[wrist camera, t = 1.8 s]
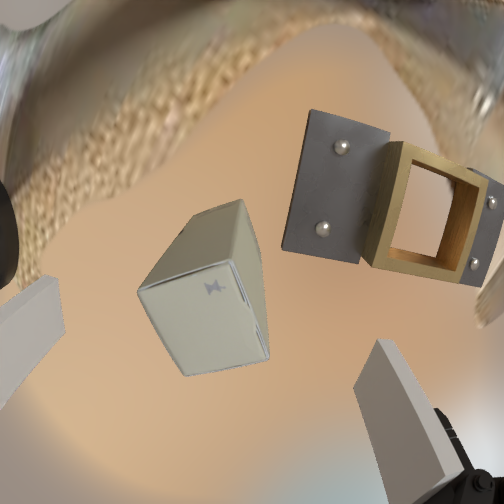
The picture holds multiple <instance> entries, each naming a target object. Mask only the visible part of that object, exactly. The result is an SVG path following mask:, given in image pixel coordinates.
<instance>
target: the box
mask: <svg viewBox="0 0 504 504" xmlns="http://www.w3.org/2000/svg"><path fill="white" fill-rule="evenodd" d="M137 294H138V297H139V299H140V301H141V303H142V305H143V307H144V309H145V312H146V314H147V316H148V317H149V319H150V321H151V323H152V325H153V327H154V329H155V330H156V332H157V334H158V336H159V338H160V339H161V341H162V343H163V345H164V346H165V348H166V350H167V351H168V353H169V355H170V356H171V358H172V359H173V361H174V362H175V364H176V365H177V367H178V368H179V370H180V371H181V373H182V374H183V375H184V376H186V377H187V376H188V377H189V376H194V375H199V374H205V373H211V372H217V371H222V370H228V369H233V368H237V367H242V366H246V365H251V364H256V363H260V362H264V361H267V360H269V357H270V352H269V336H268V325H267V314H266V303H265V292H264V282H263V271H262V260H261V252H260V248H259V245H258V242H257V238H256V235H255V232H254V229H253V226H252V223H251V220H250V217H249V214H248V212H247V209H246V206H245V204H244V201H243V199H239V200H236V201H232V202H229V203H226V204H223V205H220V206H217V207H214V208H212V209H209V210H206V211H203V212H201V213H199V214H196V215H194V216H193V217H192V218H191V219H190V220H189V222H188V223H187V224H186V226H185V227H184V228H183V230H182V231H181V232H180V233H179V235H178V236H177V237H176V238H175V240H174V241H173V242H172V244H171V245H170V246H169V248H168V249H167V250H166V252H165V253H164V254H163V256H162V257H161V258H160V259H159V261H158V262H157V263H156V265H155V266H154V268H153V269H152V270H151V272H150V273H149V274H148V276H147V277H146V279H145V280H144V282H143V283H142V284H141V286H140V287H139V288H138V290H137Z"/></svg>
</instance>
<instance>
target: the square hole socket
mask: <svg viewBox="0 0 504 504" xmlns="http://www.w3.org/2000/svg"><path fill="white" fill-rule="evenodd" d="M389 139H390V132H387V131H384V130H381V129H378V128H375V127H372V126H369V125H366V124H363V123H360V122H357V121H354V120H350V119H347V118H344V117H340V116H336V115H333V114H329V113H325V112H322V111H317V110H314V109H311V110H310V111H309V114H308V120H307V125H306V130H305V135H304V140H303V145H302V150H301V155H300V160H299V165H298V170H297V174H296V179H295V184H294V189H293V193H292V199H291V203H290V207H289V212H288V217H287V221H286V226H285V230H284V235H283V240H282V244H281V248H282V250H283V251H289V252H295V253H300V254H306V255H311V256H316V257H323V258H327V259H333V260H338V261H344V262H350V263H355V264H359V260H360V257H361V256H362V257H363V259H364V260H365V261H366V262H367V263H368V264H369V265H370V266H371V267H373V268H378V269H384V270H389V271H395V272H399V273H405V274H410V275H415V276H421V277H426V278H431V279H437V280H442V281H447V282H452V283H457V284H458V283H460V284H465V285H470V286H475V287H480V288H481V287H482V284H483V282H484V279H485V276H486V274H487V271H488V268H489V266H490V263H491V260H492V257H493V254H494V251H495V248H496V244H497V241H498V238H499V234H500V231H501V227H502V224H503V220H504V185H502V184H501V183H499V182H497V181H495V180H493V179H492V178H490V177H488V176H486V175H484V174H483V173H481V172H479V171H477V170H475V169H472V168H467V169H466V168H464V167H462V166H460V165H458V164H456V163H454V162H452V161H449V160H447V159H445V158H443V157H440V156H438V155H436V154H434V153H431V152H429V151H427V150H424V149H422V148H419V147H417V146H414V145H412V144H409V143H407V142H404V141H396V142H389ZM411 164H413V165H416V166H419V167H421V168H424V169H427V170H429V171H432V172H434V173H437V174H439V175H441V176H444V177H446V178H449V179H451V180H453V181H456V187H455V191H454V195H453V200H452V204H451V208H450V212H449V215H448V219H447V223H446V226H445V230H444V233H443V237H442V240H441V243H440V246H439V249H438V252H437V255H436V258H435V257H431V256H426V255H422V254H418V253H414V252H409V251H405V250H400V249H396V248H392V247H390V245H391V242H392V239H393V235H394V232H395V229H396V225H397V221H398V218H399V214H400V210H401V206H402V202H403V199H404V194H405V190H406V185H407V182H408V177H409V173H410V168H411Z"/></svg>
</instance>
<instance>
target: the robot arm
mask: <svg viewBox="0 0 504 504" xmlns="http://www.w3.org/2000/svg"><path fill="white" fill-rule="evenodd" d="M18 255H19V241H18V231H17V224H16V219H15V215H14V211H13V208H12V204H11V201H10V199H9V196H8V194H7V192H6V189H5V187H4V186H3V184H2V182H1V181H0V289H2V288H3V287H4V286H6V285H7V284H8V283H10V281H11V280H12V278H13V277H14V274H15V272H16V268H17V264H18ZM64 334H65V327H64V321H63V315H62V308H61V301H60V293H59V284H58V278H55V277H52V276H49V275H43V276H42V277H41V278H39V279H38V280H36V281H35V282H34V283H32V284H31V285H29V286H28V287H27V288H25V289H24V290H22V291H21V292H20V293H18V294H17V295H16V296H14V297H13V298H12V299H10V300H9V301H8V302H7V303H5V304H4V305H3V306H1V307H0V410H1V409H2V407H3V406H4V405H5V403H6V402H7V401H8V400H9V398H10V397H11V396H12V395H13V393H14V392H15V391H16V389H17V388H18V387H19V386H20V385H21V383H22V382H23V381H24V379H25V378H26V377H27V376H28V374H30V372H31V371H32V370H33V369H34V368H35V366H36V365H37V364H38V363H39V362H40V360H41V359H42V358H43V357H44V356H45V355H46V354H47V352H48V351H49V350H50V349H51V348H52V347H53V346H54V345H55V343H56V342H57V341H58V340H59V339H60V338H61V337H62V336H63V335H64ZM353 389H354V392H355V395H356V398H357V401H358V403H359V407H360V410H361V413H362V416H363V419H364V422H365V425H366V428H367V431H368V434H369V437H370V441H371V444H372V447H373V450H374V453H375V457H376V460H377V463H378V466H379V470H380V473H381V477H382V480H383V484H384V487H385V491H386V494H387V497H388V502H389V504H504V477H494V478H493V477H492V476H491V475H490V473H489V472H487V471H485V470H483V469H476V470H475V469H474V468H473V466H472V464H471V462H470V460H469V458H468V456H467V454H466V452H465V450H464V448H463V446H462V444H461V442H460V441H459V438H457V435H456V433H455V431H454V430H452V426H451V424H450V422H449V420H448V418H447V417H446V416H445V415H444V414H443V413H442V412H441V411H440V410H439V409H438V408H433V407H432V405H431V404H430V402H429V400H428V398H427V396H426V395H425V393H424V391H423V390H422V388H421V386H420V384H419V383H418V381H417V379H416V378H415V376H414V374H413V372H412V371H411V369H410V367H409V366H408V364H407V362H406V361H405V359H404V357H403V356H402V354H401V352H400V351H399V349H398V348H397V346H396V344H395V343H394V341H393V340H388V339H377V340H376V343H375V345H374V347H373V349H372V351H371V353H370V355H369V358H368V360H367V362H366V364H365V366H364V368H363V370H362V372H361V374H360V376H359V377H358V379H357V381H356V383H355V385H354V387H353Z"/></svg>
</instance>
